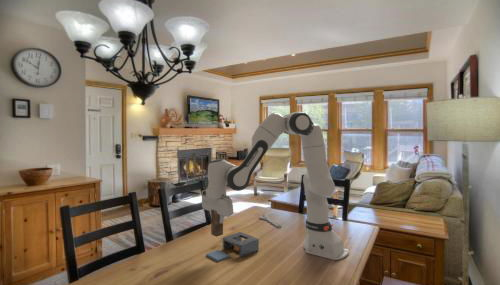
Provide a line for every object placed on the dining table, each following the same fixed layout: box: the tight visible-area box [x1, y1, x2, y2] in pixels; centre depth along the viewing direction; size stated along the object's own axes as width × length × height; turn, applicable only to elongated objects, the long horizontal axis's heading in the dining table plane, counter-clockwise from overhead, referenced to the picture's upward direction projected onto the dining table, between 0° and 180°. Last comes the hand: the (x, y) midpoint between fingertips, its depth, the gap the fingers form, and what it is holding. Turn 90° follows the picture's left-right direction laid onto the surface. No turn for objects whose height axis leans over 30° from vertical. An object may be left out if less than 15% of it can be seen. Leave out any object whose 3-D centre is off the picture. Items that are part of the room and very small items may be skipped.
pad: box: [205, 249, 230, 263], centre depth 136 cm, size 9×7×1 cm
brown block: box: [210, 210, 224, 237], centre depth 136 cm, size 4×4×12 cm
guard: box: [222, 231, 260, 259], centre depth 144 cm, size 14×12×6 cm
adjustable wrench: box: [259, 214, 282, 229], centre depth 187 cm, size 25×6×2 cm, turn 20°
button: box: [233, 245, 239, 252], centre depth 144 cm, size 5×5×2 cm
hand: (217, 221), depth 136 cm, fingers closed on brown block, 4 cm apart
